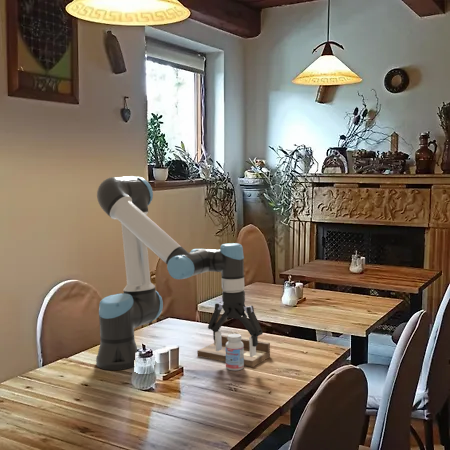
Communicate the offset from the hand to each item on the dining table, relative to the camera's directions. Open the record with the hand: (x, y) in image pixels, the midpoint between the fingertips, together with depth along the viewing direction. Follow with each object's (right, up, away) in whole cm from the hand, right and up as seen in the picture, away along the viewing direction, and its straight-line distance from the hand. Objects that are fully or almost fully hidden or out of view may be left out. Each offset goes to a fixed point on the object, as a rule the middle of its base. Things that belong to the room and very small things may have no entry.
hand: (235, 352), depth 197 cm
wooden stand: (-1, -4, +13) cm, 13 cm away
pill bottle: (0, -5, +1) cm, 6 cm away
